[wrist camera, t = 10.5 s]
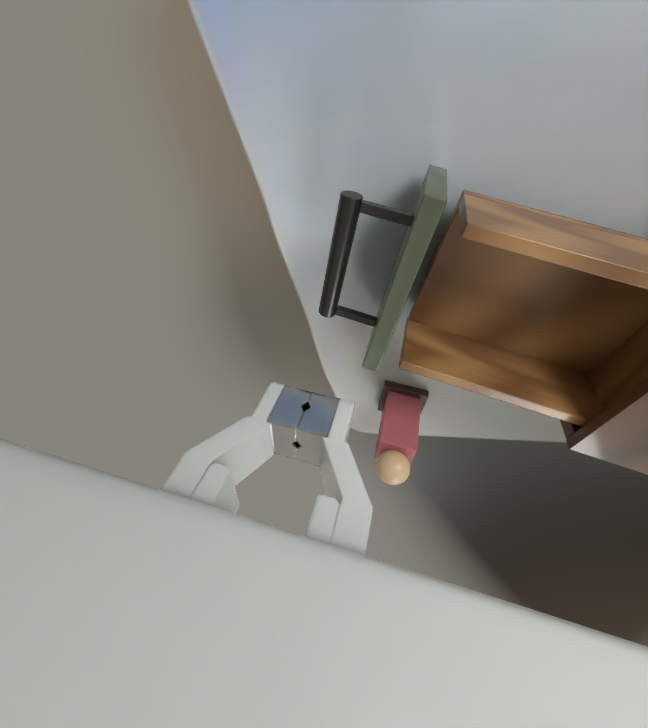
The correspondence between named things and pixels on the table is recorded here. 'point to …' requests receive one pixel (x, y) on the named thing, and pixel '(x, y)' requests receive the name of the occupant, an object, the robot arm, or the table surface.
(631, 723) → the robot arm
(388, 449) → the peg doll
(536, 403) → the drawer
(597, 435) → the cabinet
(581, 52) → the table surface
